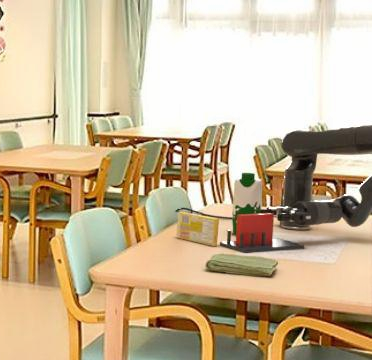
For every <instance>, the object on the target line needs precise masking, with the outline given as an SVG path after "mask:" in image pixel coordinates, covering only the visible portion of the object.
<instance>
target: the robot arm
mask: <svg viewBox="0 0 372 360" xmlns="http://www.w3.org/2000/svg"><path fill="white" fill-rule="evenodd" d="M280 148H281V149H282V151H283V153H284V154H285V155H287V156H288V157H290V158H291V160H290V163H289V165H288V166H287V167H286V168H285V169H284V180H283V197H282V198H281V199H280V206H266V208H261V209H260V210H259V214H260V213H271V214H274V219H276V220H277V221H278V222H279V227H281V228H283V229H288V230H294V231H295V230H296V231H307V230H310V229H311V226H319V225H324V224H334V223H339V221H341V219H343V220H344V222H345V223H346V224H347V225H348V226H349V227H351V228H357V227H360V226H362V225H363V224H365V222H367V220H368V218H369V217H370V216H371V214H372V174H370V175H369V176H368V177H367V178H366V179H365V181H363V183H361V184H360V186H359V187H358V193H359V194H360V196H361V201H358V199H357V198H355V197H354V196H353V195H349V194H344V195H341V196H339V197H336V198H334V199H331V200H312V197H313V195H312V194H313V179H314V173H315V171H316V167H317V161H318V155H335V156H336V155H338V156H341V155H342V156H361V155H362V156H363V155H369V154H372V124H370V125H367V124H366V125H365V124H364V125H363V124H362V125H351V126H343V127H338V128H337V127H336V128H332V129H331V128H330V129H327V130H320V131H311V130H309V129H294V130H291V131H289V132H287V133H286V134H285V135H284V136H283V137H282V139H281V142H280ZM180 208H181V209H179V208H177V209H176V210H175V212H177V213H178V212H180V211H181V210H182V211H183V210H185V211H189V212H192V213H193V214H198V215H201V216H206V217H211V218H216V219H223V220H232V216H221V215H213V214H208V213H204V212H202V211H199V210H194V209H191V208H188V207H180Z"/></svg>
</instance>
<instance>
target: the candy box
mask: <svg viewBox="0 0 372 360" xmlns="http://www.w3.org/2000/svg"><path fill="white" fill-rule="evenodd" d="M219 219H220V218H214V217H208V216H204V215H202V214H196V213H190V212H184V211H177V223H176V225H177V226H176V238H177V239H180V240H181V239H182V240H185V241H190V242H195V243H198V244H202V245H206V246H211V247H216V246H218V237H219V223H220V220H219Z"/></svg>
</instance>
